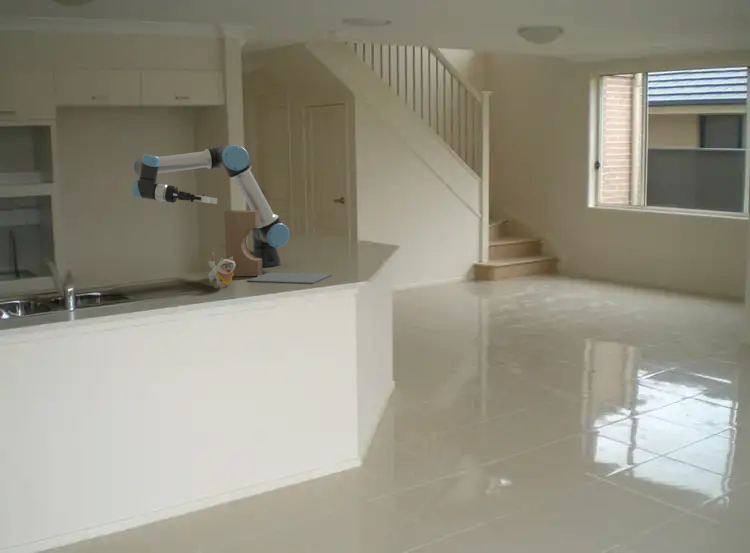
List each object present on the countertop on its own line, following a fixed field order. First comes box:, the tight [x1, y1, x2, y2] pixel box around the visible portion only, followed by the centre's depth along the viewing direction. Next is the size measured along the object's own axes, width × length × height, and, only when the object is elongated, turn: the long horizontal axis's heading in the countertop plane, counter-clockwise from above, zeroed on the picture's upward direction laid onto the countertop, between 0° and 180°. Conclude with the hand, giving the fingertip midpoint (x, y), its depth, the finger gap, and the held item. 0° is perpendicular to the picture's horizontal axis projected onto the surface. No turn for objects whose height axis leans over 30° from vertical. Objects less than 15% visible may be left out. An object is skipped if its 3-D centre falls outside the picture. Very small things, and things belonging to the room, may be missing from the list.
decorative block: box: [223, 209, 264, 277], centre depth 413 cm, size 15×8×30 cm, turn 77°
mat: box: [246, 272, 333, 285], centre depth 403 cm, size 22×32×1 cm
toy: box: [207, 251, 235, 288], centre depth 385 cm, size 9×19×15 cm, turn 36°
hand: (213, 200), depth 398 cm, fingers open, 13 cm apart
